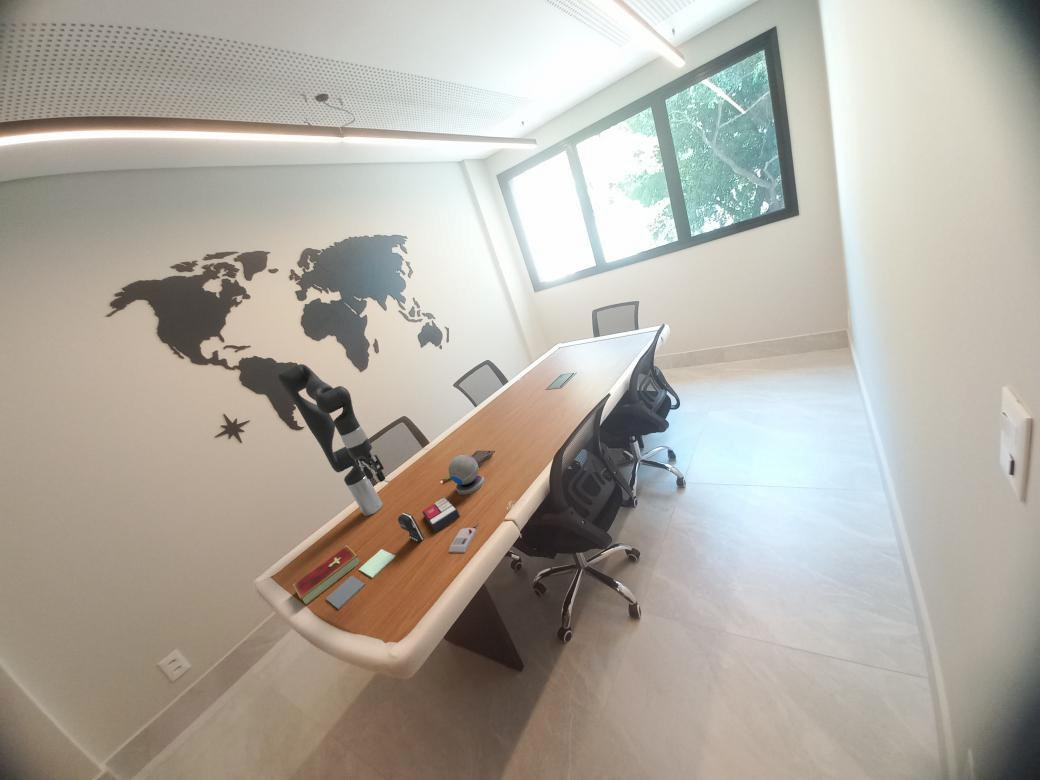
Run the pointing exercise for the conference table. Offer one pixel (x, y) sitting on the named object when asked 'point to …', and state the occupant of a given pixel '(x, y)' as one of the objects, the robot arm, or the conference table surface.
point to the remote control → (462, 540)
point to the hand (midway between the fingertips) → (376, 479)
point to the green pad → (377, 563)
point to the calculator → (440, 514)
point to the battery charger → (410, 527)
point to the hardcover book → (326, 574)
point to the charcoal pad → (345, 592)
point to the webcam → (465, 474)
